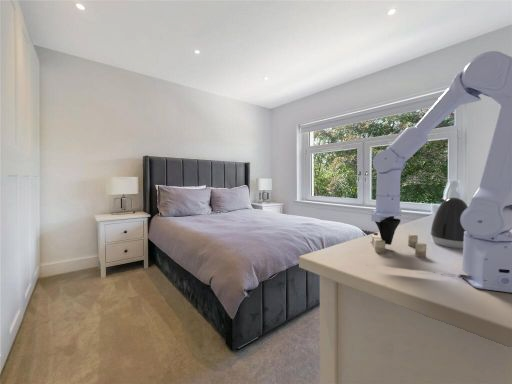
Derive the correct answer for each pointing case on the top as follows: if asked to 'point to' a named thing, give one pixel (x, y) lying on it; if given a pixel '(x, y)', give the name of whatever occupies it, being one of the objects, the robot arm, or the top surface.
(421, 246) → the stool seat
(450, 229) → the dark grey tapered dome
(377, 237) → the hinged leg
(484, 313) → the top surface
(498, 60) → the robot arm
